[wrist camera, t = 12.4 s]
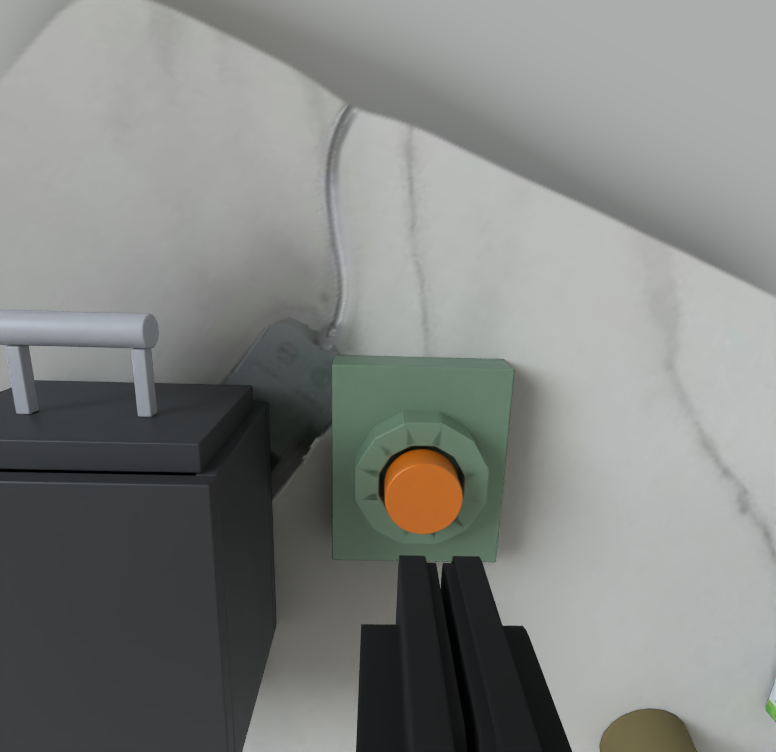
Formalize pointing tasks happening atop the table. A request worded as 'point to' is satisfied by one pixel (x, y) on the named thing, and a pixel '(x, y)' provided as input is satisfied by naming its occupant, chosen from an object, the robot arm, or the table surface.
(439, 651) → the robot arm
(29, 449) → the drawer
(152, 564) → the dark grey drawer cabinet
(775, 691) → the syrup box
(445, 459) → the button
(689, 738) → the olive green pawn
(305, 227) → the table surface
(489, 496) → the control block
